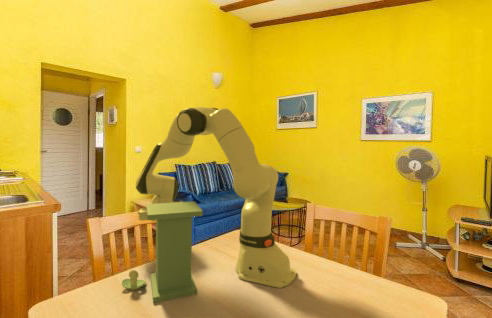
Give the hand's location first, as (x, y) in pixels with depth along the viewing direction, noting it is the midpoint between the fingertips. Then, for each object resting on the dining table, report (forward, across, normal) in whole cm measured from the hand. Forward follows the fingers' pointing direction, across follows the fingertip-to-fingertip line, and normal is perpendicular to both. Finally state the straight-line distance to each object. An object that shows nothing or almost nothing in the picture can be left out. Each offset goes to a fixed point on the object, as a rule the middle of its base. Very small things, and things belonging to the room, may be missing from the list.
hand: (166, 218), depth 108 cm
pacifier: (+18, -11, +17) cm, 27 cm away
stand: (+22, 0, +16) cm, 27 cm away
